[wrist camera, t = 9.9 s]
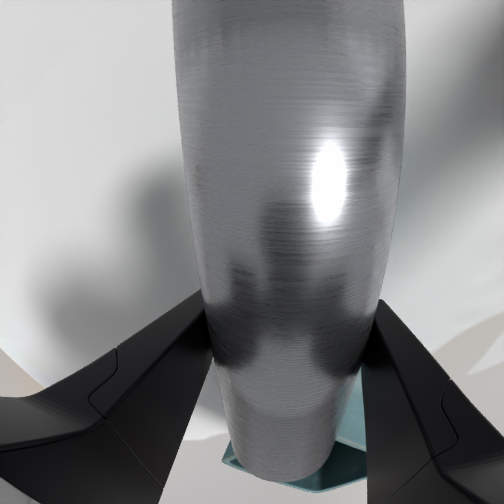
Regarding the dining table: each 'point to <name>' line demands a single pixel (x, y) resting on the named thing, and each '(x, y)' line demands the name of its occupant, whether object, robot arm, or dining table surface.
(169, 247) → the dining table surface
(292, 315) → the axle
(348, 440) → the flower pot
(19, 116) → the dining table surface
